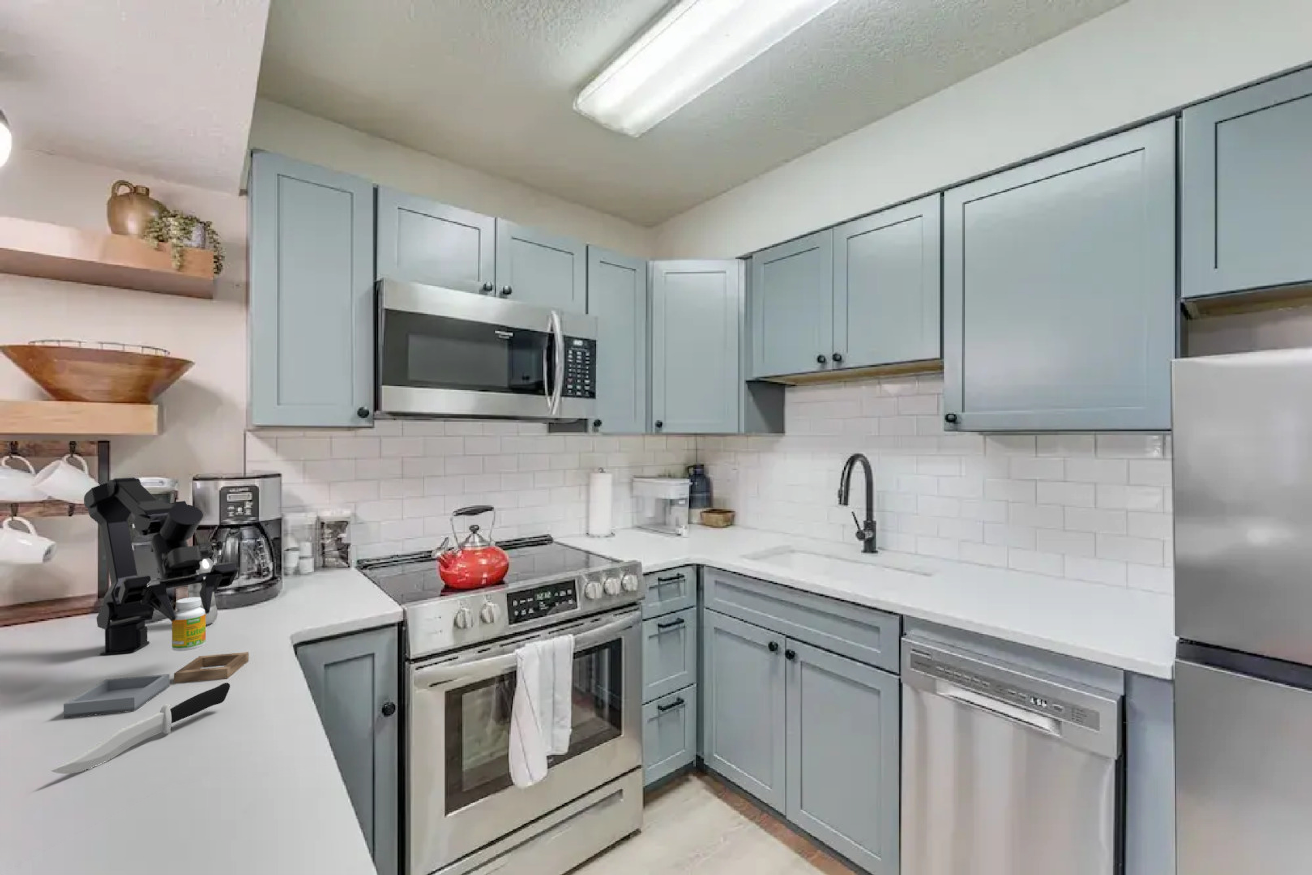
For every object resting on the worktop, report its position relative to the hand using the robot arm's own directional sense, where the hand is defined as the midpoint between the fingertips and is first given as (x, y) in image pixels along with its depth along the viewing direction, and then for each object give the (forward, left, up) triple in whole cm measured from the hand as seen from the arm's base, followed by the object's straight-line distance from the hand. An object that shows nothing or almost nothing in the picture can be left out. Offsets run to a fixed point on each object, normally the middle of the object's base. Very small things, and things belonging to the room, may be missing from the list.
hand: (191, 615), depth 116 cm
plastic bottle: (-17, +40, -13) cm, 46 cm away
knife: (+7, -26, -13) cm, 30 cm away
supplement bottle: (-1, +1, -7) cm, 7 cm away
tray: (-8, -7, -13) cm, 17 cm away
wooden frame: (+2, +4, -13) cm, 14 cm away
